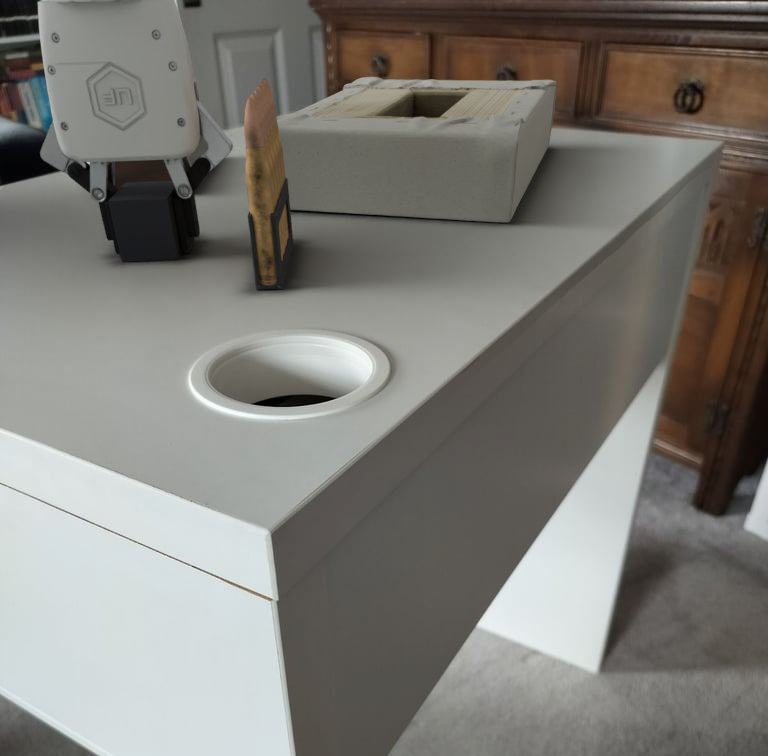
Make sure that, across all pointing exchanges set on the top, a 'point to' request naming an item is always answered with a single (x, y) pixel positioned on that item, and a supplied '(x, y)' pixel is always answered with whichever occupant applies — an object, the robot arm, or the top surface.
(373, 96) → the box
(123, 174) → the tray
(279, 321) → the top surface
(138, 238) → the black block
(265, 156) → the ammunition clip
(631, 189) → the top surface
